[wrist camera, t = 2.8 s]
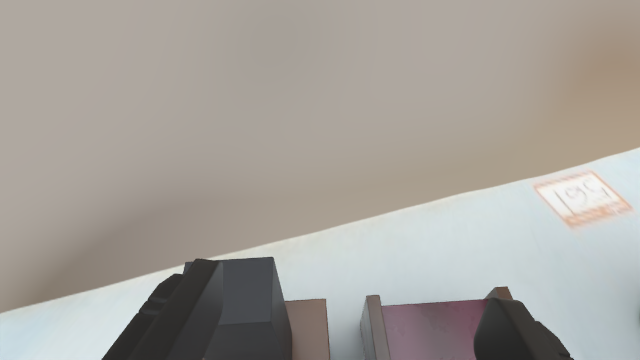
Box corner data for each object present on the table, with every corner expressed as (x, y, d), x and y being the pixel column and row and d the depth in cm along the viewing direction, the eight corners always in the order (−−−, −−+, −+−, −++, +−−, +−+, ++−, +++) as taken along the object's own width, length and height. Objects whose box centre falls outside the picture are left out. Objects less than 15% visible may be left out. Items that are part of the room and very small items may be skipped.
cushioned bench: (479, 315, 36) (507, 286, 31) (515, 415, 30) (559, 403, 25) (359, 323, 36) (366, 295, 30) (373, 426, 30) (384, 416, 24)
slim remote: (291, 329, 26) (273, 253, 17) (292, 378, 24) (271, 322, 15) (235, 332, 26) (185, 259, 17) (230, 382, 24) (170, 328, 15)
